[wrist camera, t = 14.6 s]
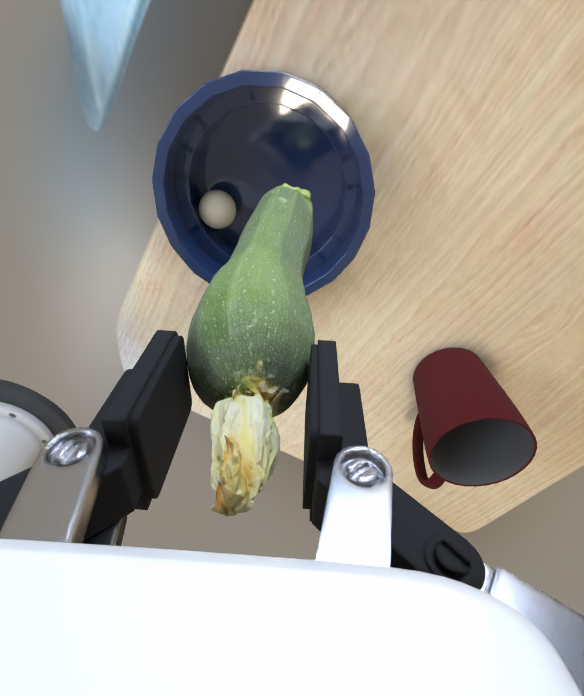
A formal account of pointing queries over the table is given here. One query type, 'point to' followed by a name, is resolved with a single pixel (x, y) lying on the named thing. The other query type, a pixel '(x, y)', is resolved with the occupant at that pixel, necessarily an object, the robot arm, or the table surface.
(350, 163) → the mixing bowl
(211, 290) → the vegetable
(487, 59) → the table surface
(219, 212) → the beige small ball
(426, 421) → the mug
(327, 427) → the robot arm
